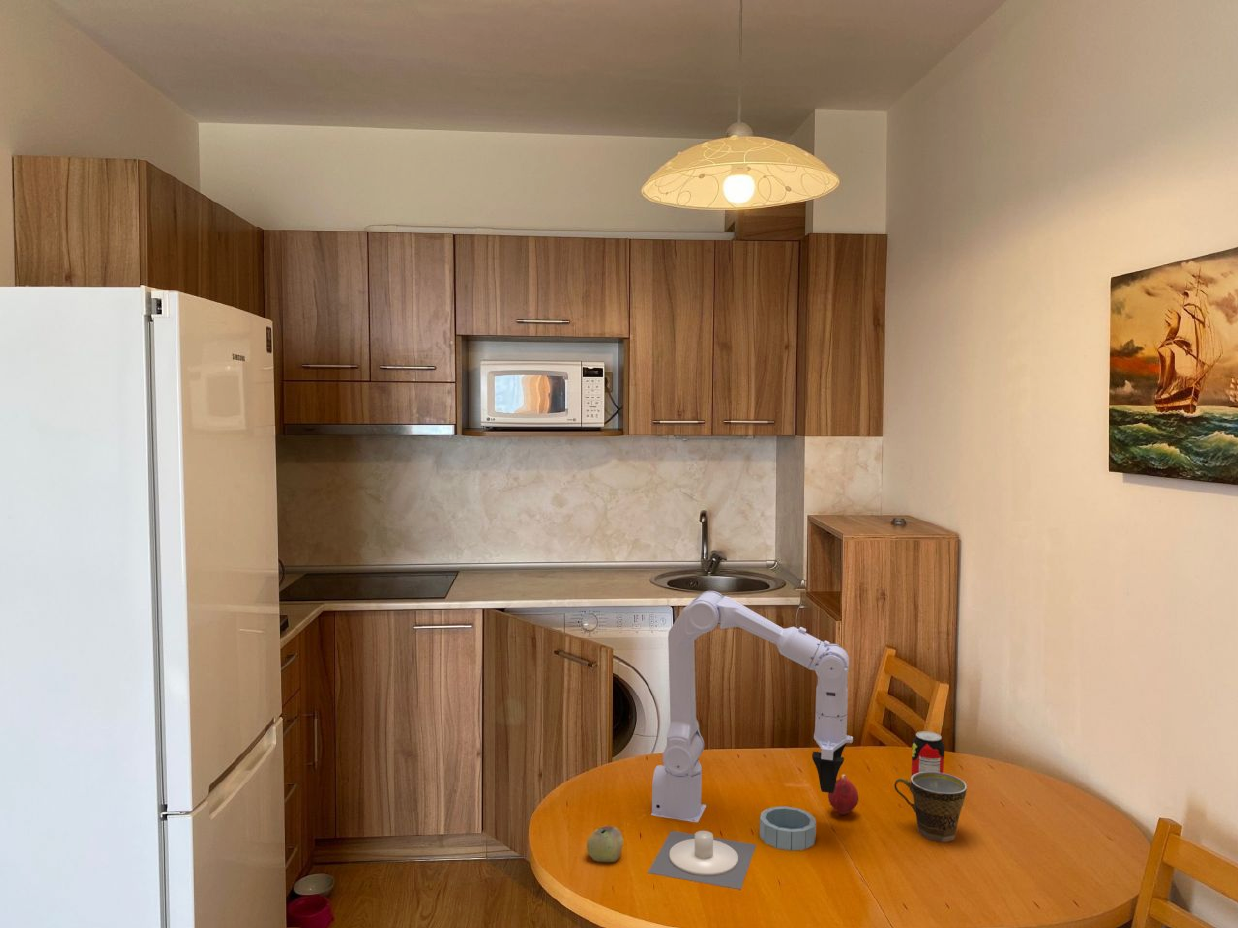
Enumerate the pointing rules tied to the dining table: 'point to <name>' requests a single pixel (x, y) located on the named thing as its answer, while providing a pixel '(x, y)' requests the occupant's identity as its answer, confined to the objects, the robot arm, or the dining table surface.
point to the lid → (703, 855)
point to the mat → (728, 879)
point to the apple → (605, 844)
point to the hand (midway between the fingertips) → (829, 783)
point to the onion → (843, 796)
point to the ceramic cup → (936, 803)
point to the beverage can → (927, 753)
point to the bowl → (787, 828)
